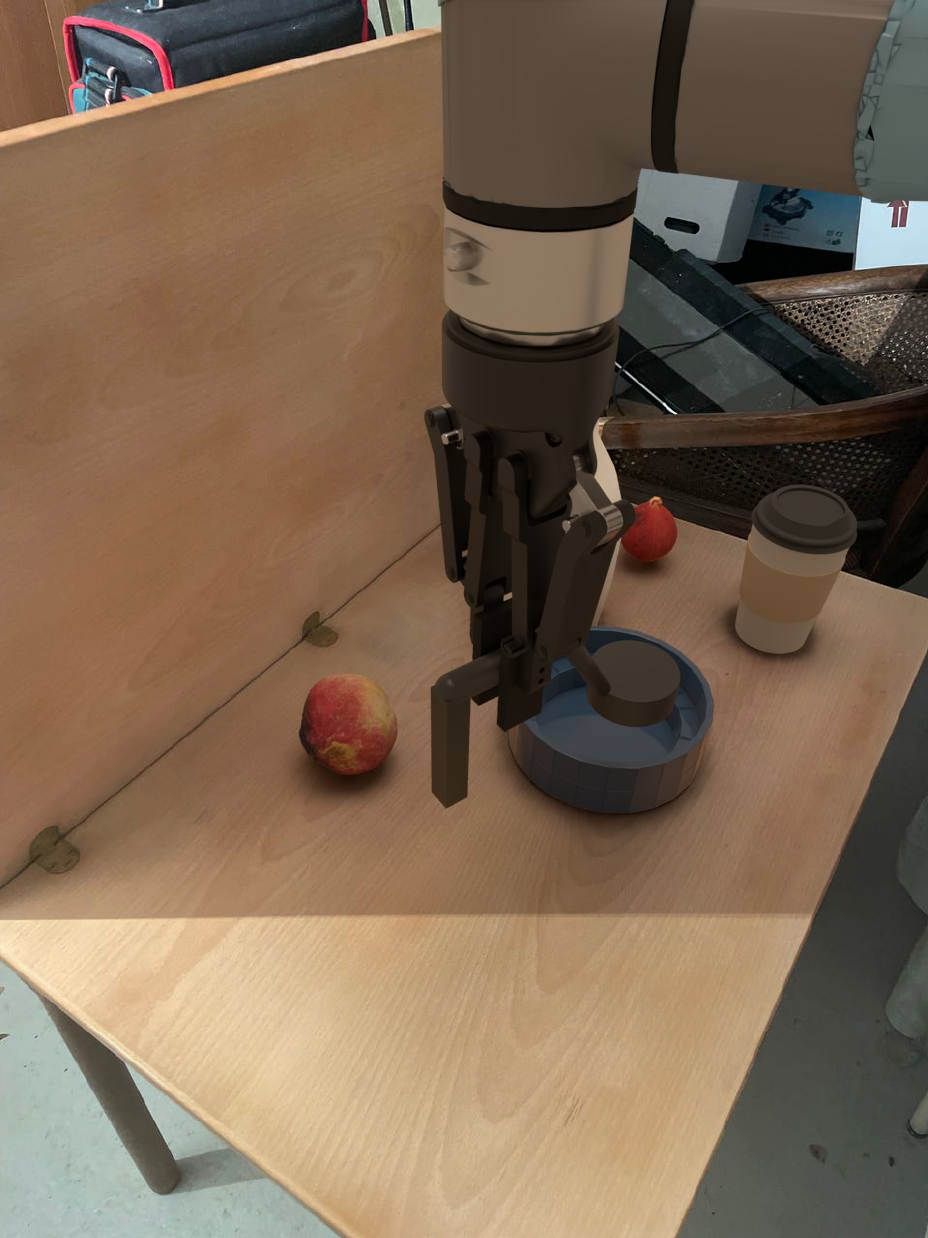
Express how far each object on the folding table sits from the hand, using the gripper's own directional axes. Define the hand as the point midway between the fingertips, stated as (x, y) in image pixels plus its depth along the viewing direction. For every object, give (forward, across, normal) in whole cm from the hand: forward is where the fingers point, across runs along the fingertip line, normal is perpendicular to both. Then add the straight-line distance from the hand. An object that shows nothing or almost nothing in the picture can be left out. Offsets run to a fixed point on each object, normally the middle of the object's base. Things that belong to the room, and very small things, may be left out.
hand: (505, 705), depth 53 cm
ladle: (+5, 0, +5) cm, 7 cm away
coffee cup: (+20, -8, +40) cm, 45 cm away
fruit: (+19, -17, -2) cm, 26 cm away
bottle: (+19, -21, +23) cm, 37 cm away
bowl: (+19, -6, +16) cm, 26 cm away
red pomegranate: (+20, -23, +38) cm, 48 cm away
